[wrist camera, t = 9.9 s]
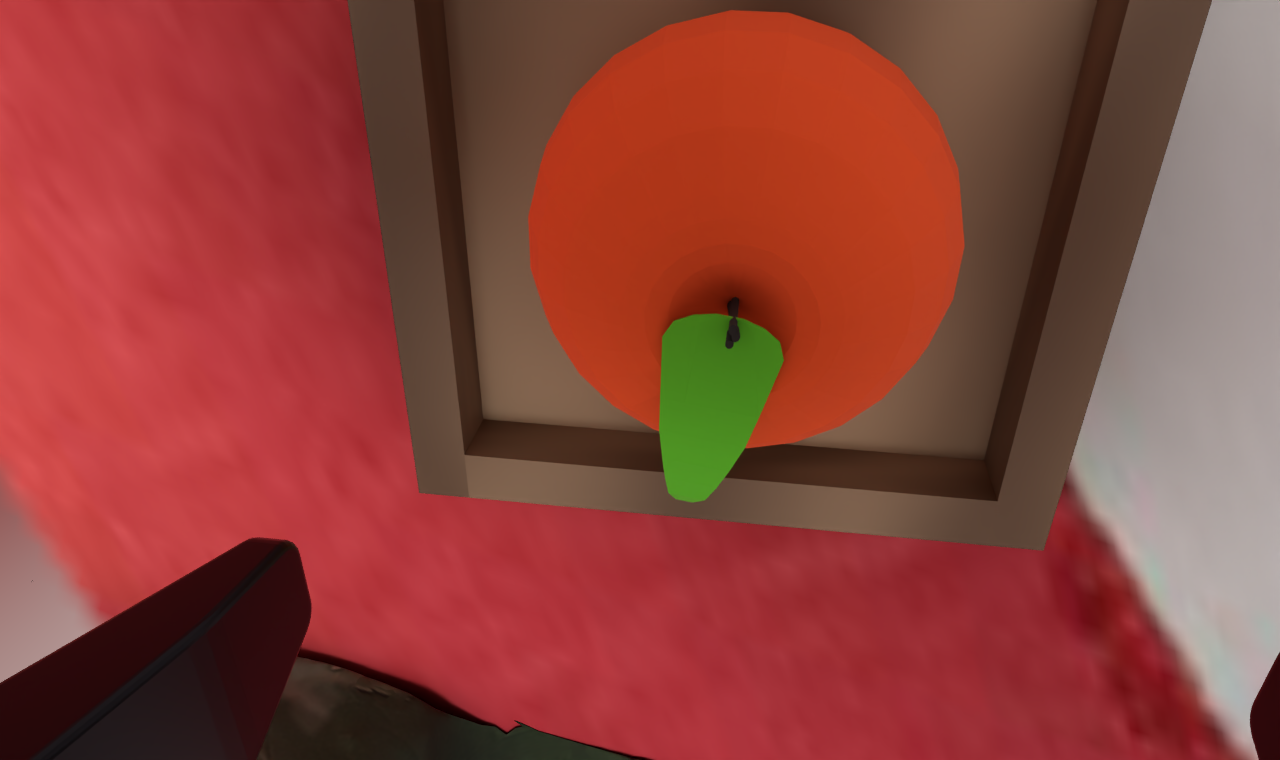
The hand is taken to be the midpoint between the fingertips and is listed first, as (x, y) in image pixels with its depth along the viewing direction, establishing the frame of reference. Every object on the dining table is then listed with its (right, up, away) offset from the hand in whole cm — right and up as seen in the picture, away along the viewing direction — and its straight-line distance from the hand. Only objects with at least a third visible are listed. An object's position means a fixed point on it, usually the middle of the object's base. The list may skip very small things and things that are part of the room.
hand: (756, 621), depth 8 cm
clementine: (+1, +6, +10) cm, 12 cm away
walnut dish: (+1, +6, +10) cm, 12 cm away
